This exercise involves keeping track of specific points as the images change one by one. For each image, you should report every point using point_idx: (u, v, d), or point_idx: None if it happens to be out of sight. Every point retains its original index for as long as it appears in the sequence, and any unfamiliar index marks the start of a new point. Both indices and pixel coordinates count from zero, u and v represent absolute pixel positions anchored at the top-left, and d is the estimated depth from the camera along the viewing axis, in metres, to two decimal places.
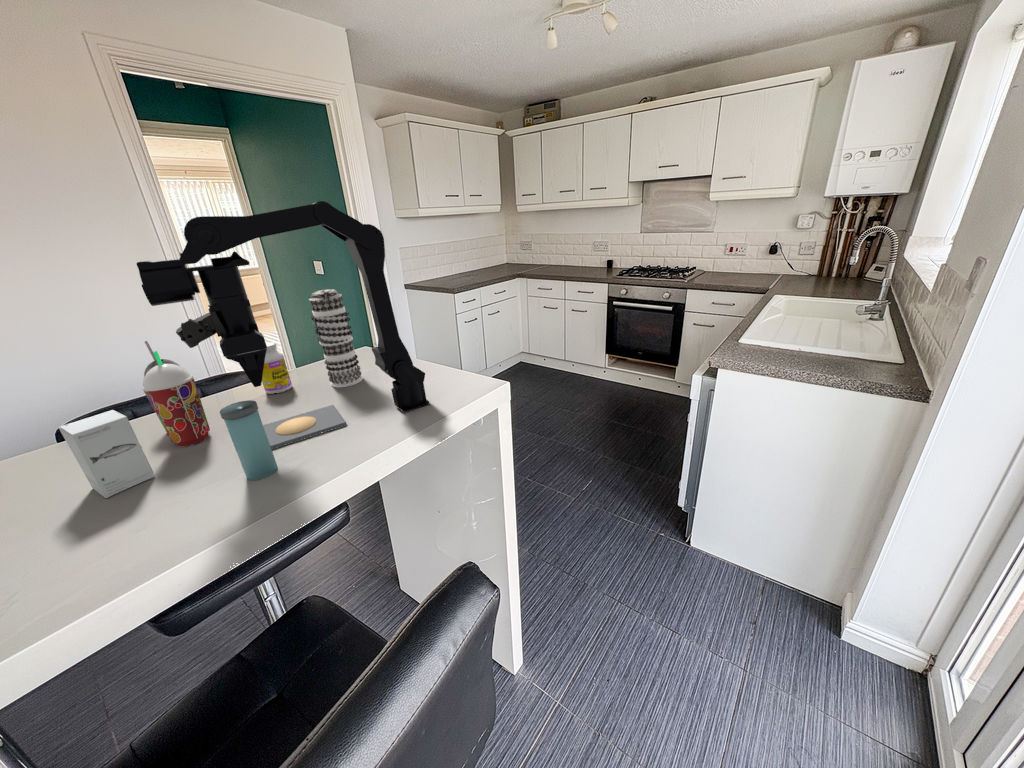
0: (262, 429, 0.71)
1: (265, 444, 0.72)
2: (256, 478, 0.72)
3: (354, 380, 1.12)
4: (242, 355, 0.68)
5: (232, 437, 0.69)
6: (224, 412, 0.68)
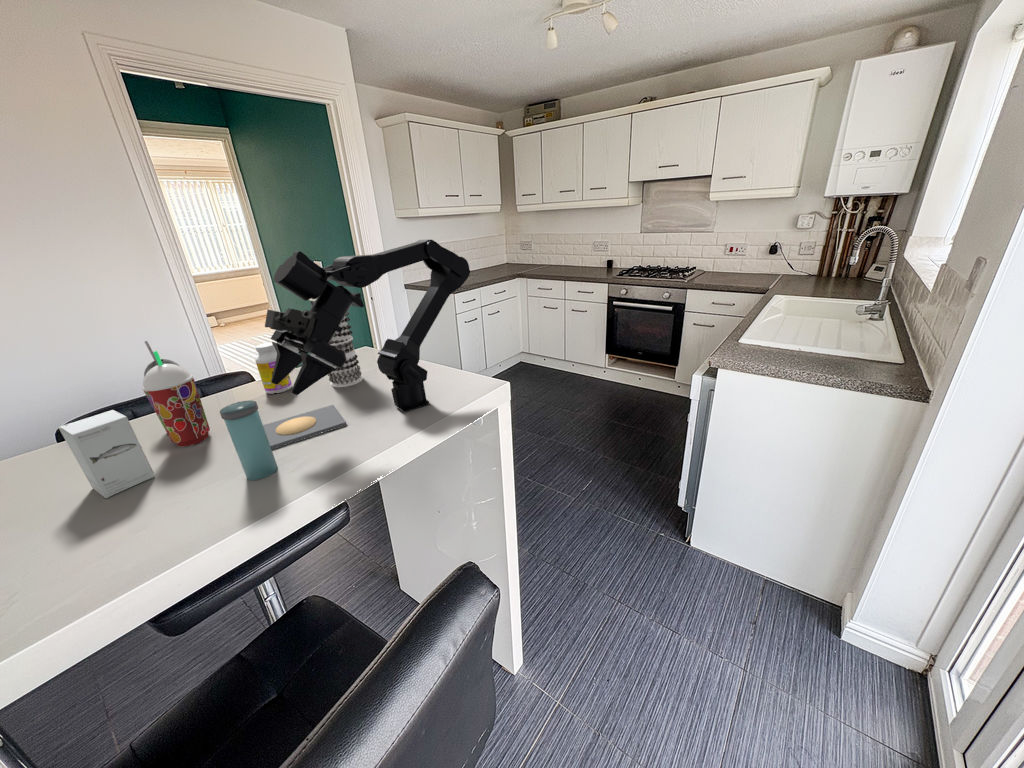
0: (262, 429, 0.71)
1: (265, 444, 0.72)
2: (256, 478, 0.72)
3: (354, 380, 1.12)
4: (319, 361, 0.70)
5: (232, 437, 0.69)
6: (224, 412, 0.68)
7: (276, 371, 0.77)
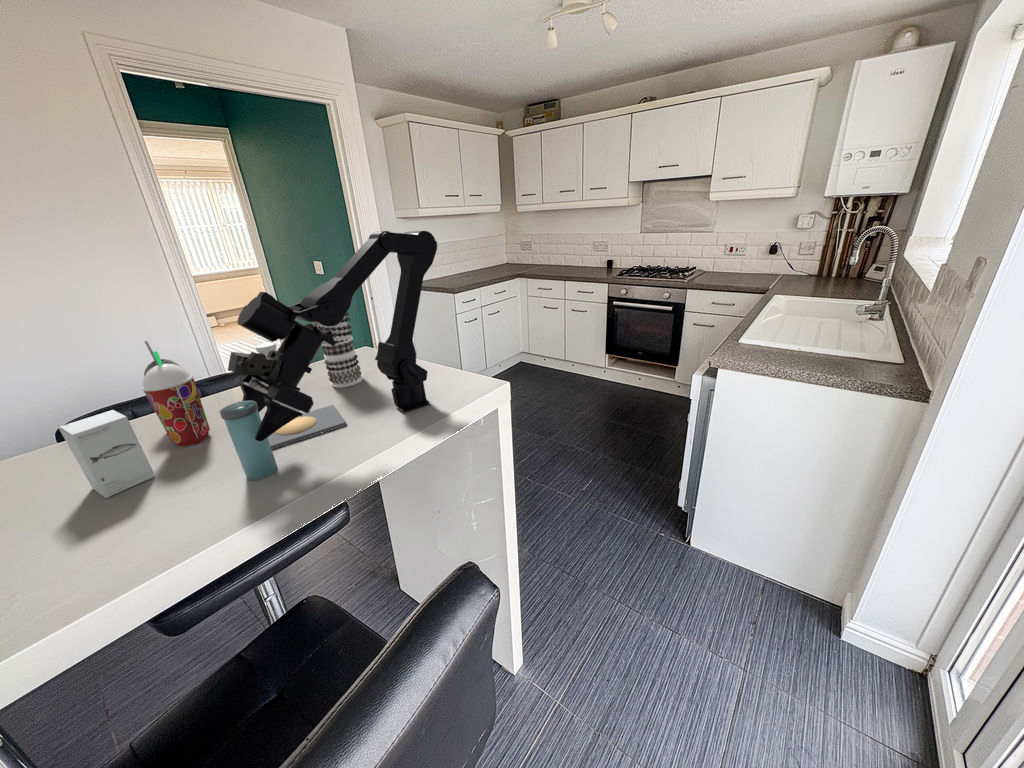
0: None
1: (265, 444, 0.72)
2: (256, 478, 0.72)
3: (354, 380, 1.12)
4: (284, 407, 0.67)
5: (232, 437, 0.69)
6: (224, 412, 0.68)
7: None
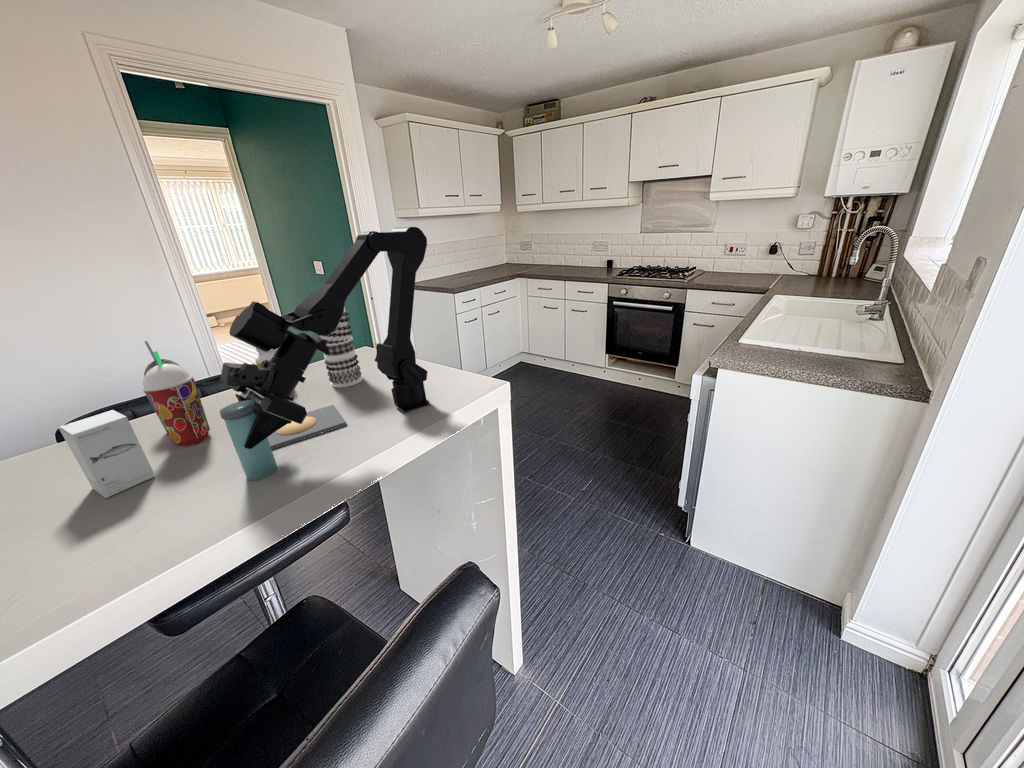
0: None
1: (265, 444, 0.72)
2: (256, 478, 0.72)
3: (354, 380, 1.12)
4: (272, 415, 0.68)
5: (232, 437, 0.69)
6: (224, 412, 0.68)
7: None
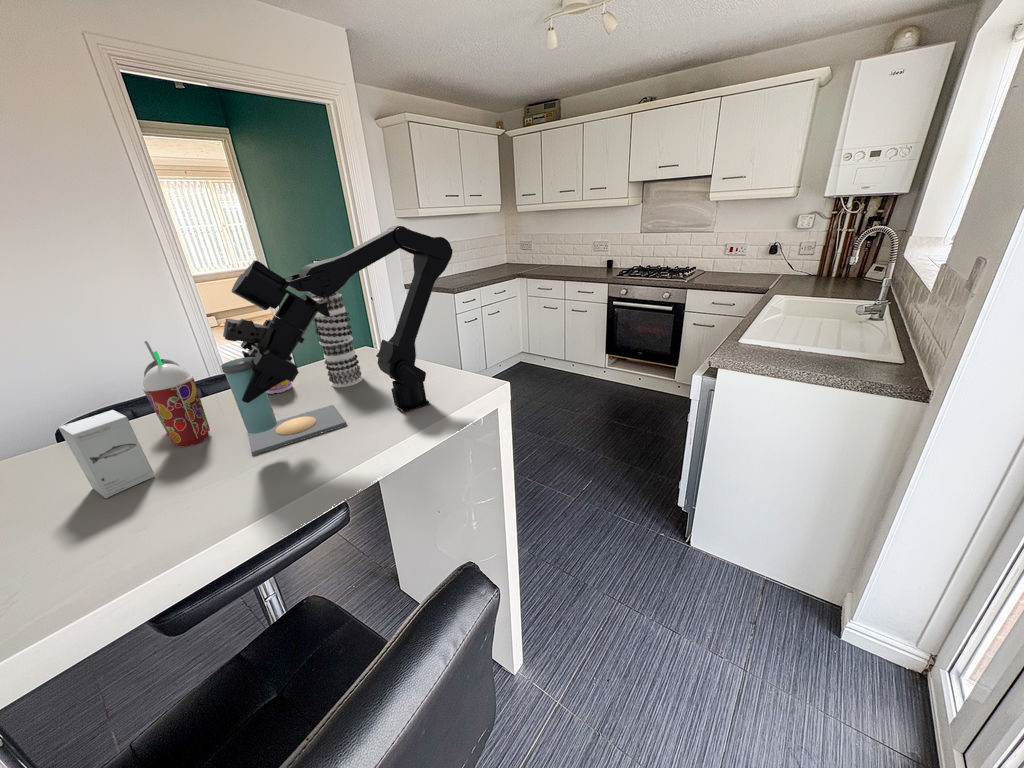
0: None
1: (263, 400, 0.75)
2: (254, 432, 0.75)
3: (354, 380, 1.12)
4: (266, 371, 0.70)
5: (232, 390, 0.72)
6: (224, 366, 0.71)
7: None
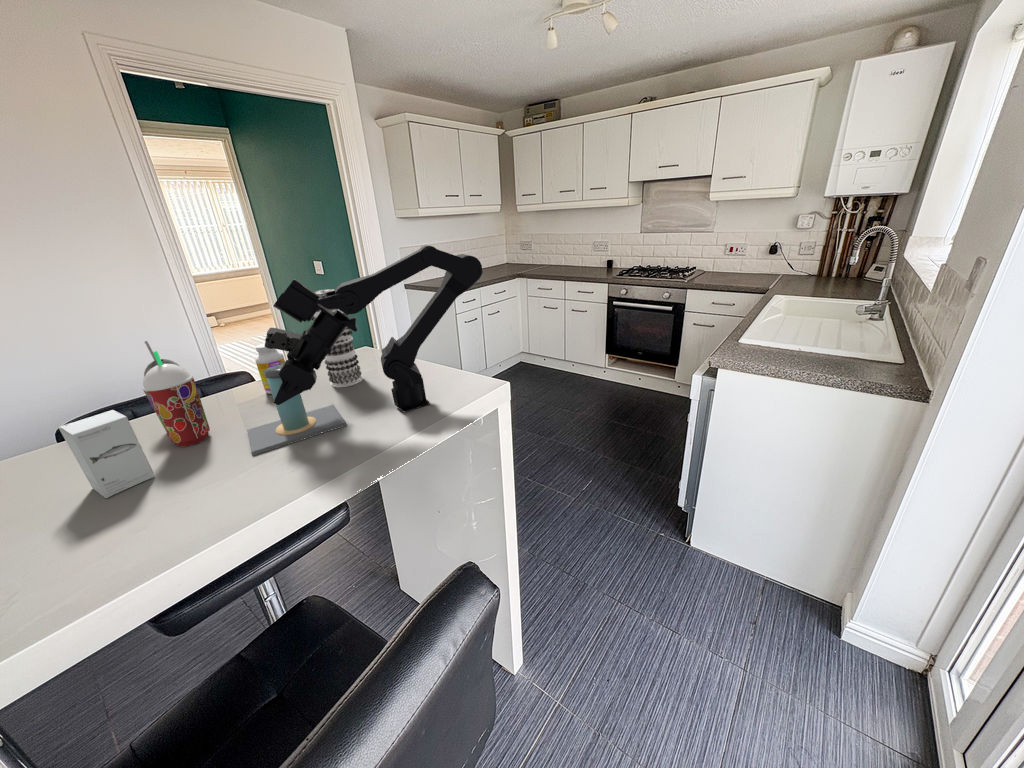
0: None
1: (295, 403, 0.85)
2: (287, 429, 0.87)
3: (354, 380, 1.12)
4: (290, 380, 0.78)
5: None
6: (265, 371, 0.83)
7: None
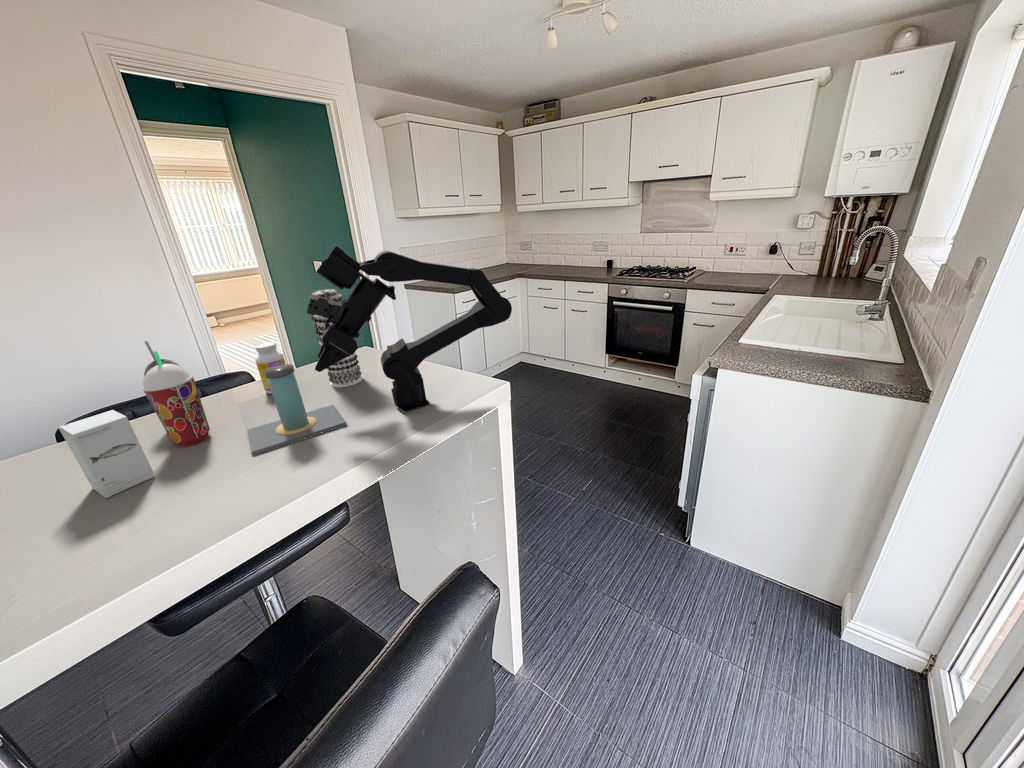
0: (294, 390, 0.85)
1: (295, 403, 0.85)
2: (287, 429, 0.87)
3: (354, 380, 1.12)
4: (333, 346, 0.78)
5: None
6: (266, 371, 0.83)
7: (322, 348, 0.90)
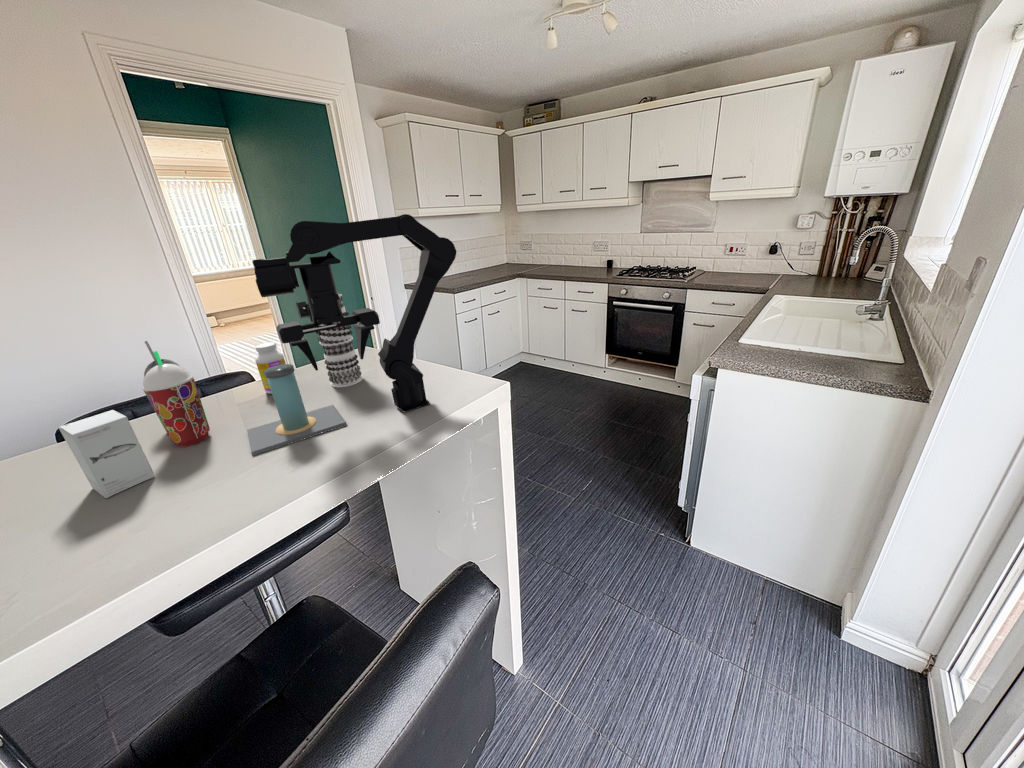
0: (294, 390, 0.85)
1: (295, 403, 0.85)
2: (287, 429, 0.87)
3: (354, 380, 1.12)
4: None
5: None
6: (266, 371, 0.83)
7: (358, 349, 0.89)
